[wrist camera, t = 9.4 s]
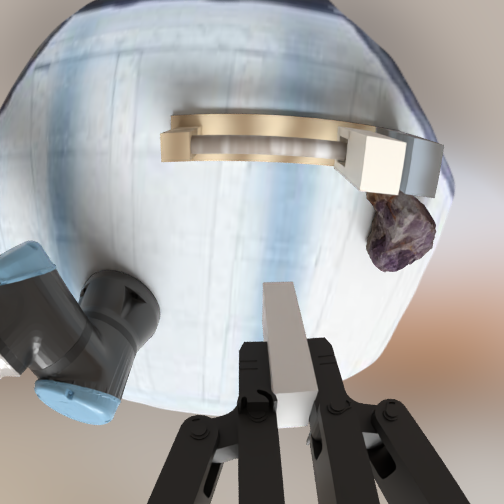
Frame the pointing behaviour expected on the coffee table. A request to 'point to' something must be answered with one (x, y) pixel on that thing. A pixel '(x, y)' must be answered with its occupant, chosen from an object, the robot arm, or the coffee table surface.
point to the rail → (247, 127)
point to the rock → (399, 231)
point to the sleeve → (371, 160)
